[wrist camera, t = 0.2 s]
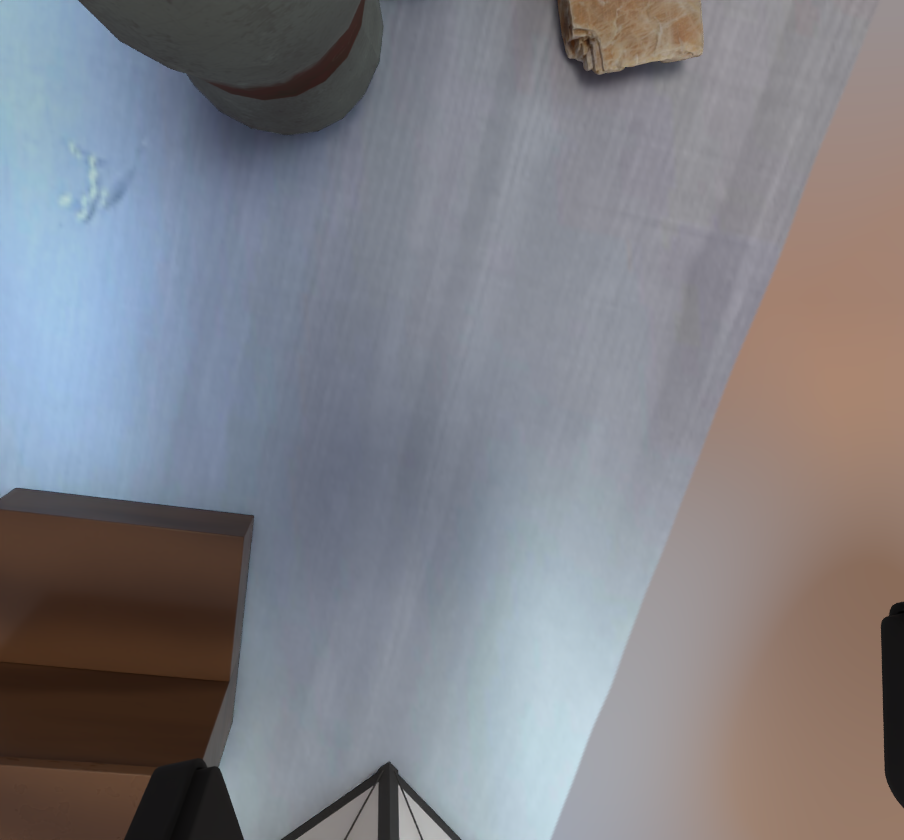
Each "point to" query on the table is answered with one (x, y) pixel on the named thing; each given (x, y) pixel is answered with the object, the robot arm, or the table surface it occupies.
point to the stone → (630, 32)
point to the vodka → (259, 53)
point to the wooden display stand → (111, 654)
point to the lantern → (377, 814)
